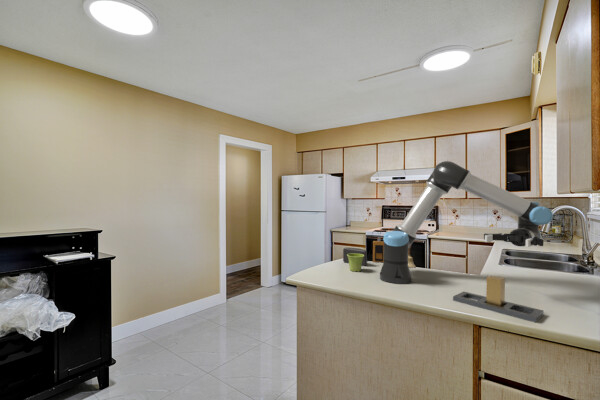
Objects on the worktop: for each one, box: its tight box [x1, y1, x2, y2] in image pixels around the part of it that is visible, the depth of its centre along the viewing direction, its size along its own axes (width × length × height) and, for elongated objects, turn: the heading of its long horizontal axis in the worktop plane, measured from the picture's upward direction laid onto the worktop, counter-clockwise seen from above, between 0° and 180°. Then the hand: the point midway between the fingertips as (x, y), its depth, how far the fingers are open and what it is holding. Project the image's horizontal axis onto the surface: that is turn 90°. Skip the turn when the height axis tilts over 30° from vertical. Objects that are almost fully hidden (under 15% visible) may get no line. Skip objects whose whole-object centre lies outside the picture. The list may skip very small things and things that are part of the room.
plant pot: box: [347, 253, 364, 273], centre depth 161 cm, size 9×9×9 cm
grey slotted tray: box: [452, 291, 544, 323], centre depth 108 cm, size 26×10×2 cm, turn 39°
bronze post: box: [485, 275, 506, 307], centre depth 108 cm, size 4×4×11 cm
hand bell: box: [408, 245, 416, 269], centre depth 173 cm, size 8×8×16 cm
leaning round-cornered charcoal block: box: [342, 247, 368, 267], centre depth 178 cm, size 16×5×9 cm, turn 49°
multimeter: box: [367, 230, 387, 263], centre depth 188 cm, size 15×10×20 cm
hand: (505, 240), depth 114 cm, fingers open, 13 cm apart
